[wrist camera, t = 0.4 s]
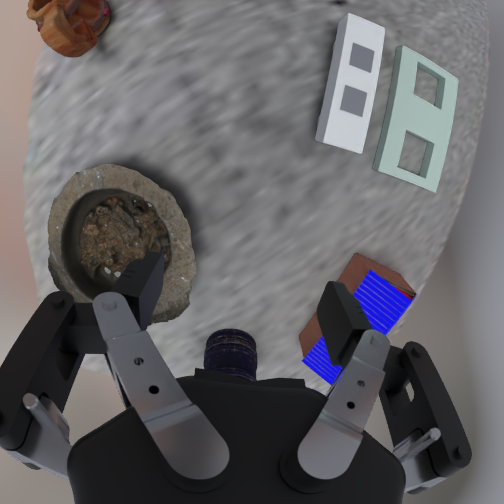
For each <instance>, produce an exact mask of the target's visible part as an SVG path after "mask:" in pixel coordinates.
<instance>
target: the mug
mask: <svg viewBox="0 0 504 504" xmlns="http://www.w3.org/2000/svg"><path fill="white" fill-rule="evenodd" d="M28 7H29V9H28V10H27V16H28V18H29V19H32V20H34V21H36V24H37V25H38V31H39V32H40V33H41V37H42V39H43V41H44V42H45V43H46V44H47V45H48V46H50V47H51V48H52V49H53V50H55V51H56V52H58V53H60V54H61V55H63V56H66V57H80V56H82V55H83V54H84V53H86V52H87V51H89V50H90V49H91V48H93V47H94V46H95V45H96V43H97V40H98V39H97V37H96V36H98V35H99V34H100V33H101V32H102V31H103V30H104V29H105V27H106V26H107V25H108V23H109V21H110V9H109V6H108V3H107V1H106V0H30V1H29V3H28Z"/></svg>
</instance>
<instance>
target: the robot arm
mask: <svg viewBox="0 0 504 504" xmlns="http://www.w3.org/2000/svg"><path fill="white" fill-rule="evenodd" d="M163 279H164V253H162V252H156V251H150V250H149V251H148V252H147V253H146V255H145V256H144V258H143V259H135V260H133V261H132V262H130V263H129V264H128V265H127V267H126V268H125V270H124V271H123V272H122V274H121V276H120V277H119V278H118V280H117V281H116V283H115V284H114V286H113V287H112V289H111V290H110V292H105V293H102V294H100V295H98V296H97V297H95V299H94V300H93V302H92V303H75V302H74V298H73V296H72V295H71V294H70V293H68V292H66V291H56V292H53V293H51V294H49V295H48V296H47V297H46V298H45V299H44V300H43V302H42V303H41V304H40V306H39V307H38V309H37V310H36V311H35V313H34V314H33V316H32V317H31V319H30V320H29V322H28V323H27V325H26V326H25V328H24V329H23V331H22V332H21V334H20V335H19V337H18V339H17V340H16V342H15V343H14V345H13V346H12V348H11V350H10V351H9V353H8V355H7V357H6V358H5V360H4V362H3V364H2V365H1V367H0V447H1V448H2V449H4V450H5V451H6V452H7V453H9V454H10V455H11V456H13V457H14V458H15V459H16V460H18V461H20V462H22V463H23V464H25V465H26V466H28V467H29V468H31V469H35V470H38V469H44V470H46V471H48V472H51V473H53V474H55V475H57V476H60V477H62V478H65V479H67V480H69V481H70V484H71V487H72V491H73V494H74V501H75V504H402V498H403V494H404V492H408V493H409V494H418V493H420V492H422V491H424V490H426V489H428V488H430V487H432V486H433V485H435V484H437V483H439V482H441V481H443V480H444V479H446V478H448V477H449V476H451V475H453V474H454V473H456V472H458V471H459V470H461V469H462V468H464V467H465V466H467V465H468V464H469V462H470V460H471V456H472V452H471V448H470V445H469V442H468V439H467V437H466V434H465V432H464V429H463V427H462V424H461V422H460V419H459V417H458V414H457V412H456V410H455V408H454V405H453V403H452V401H451V399H450V396H449V394H448V392H447V390H446V388H445V386H444V384H443V382H442V380H441V378H440V376H439V373H438V372H437V370H436V368H435V366H434V364H433V362H432V360H431V358H430V356H429V354H428V352H427V351H426V349H425V348H424V347H423V346H422V345H420V344H419V343H416V342H412V341H410V342H407V343H406V344H405V346H404V347H403V349H401V348H398V347H394V346H391V345H390V341H389V339H388V338H387V337H386V336H385V335H384V334H383V333H381V332H379V331H377V330H373V328H372V326H371V324H370V322H369V320H368V318H367V316H366V314H364V311H363V309H362V308H361V305H360V303H359V301H358V300H357V299H356V298H355V297H354V296H353V295H352V294H350V293H349V291H348V290H347V288H346V286H345V284H344V283H341V282H334V281H329V282H328V283H327V285H326V287H325V290H324V292H323V295H322V297H321V299H320V302H319V304H318V307H317V319H318V322H319V325H320V328H321V332H322V335H323V338H324V341H325V345H326V348H327V351H328V355H329V358H330V361H331V365H332V366H341V367H342V369H341V371H340V372H339V374H338V375H337V377H336V379H335V380H334V382H333V384H332V385H331V387H330V389H329V390H328V392H327V394H326V395H323V394H321V393H320V392H318V391H316V390H313V389H311V388H308V387H306V386H305V381H304V379H292V378H274V379H266V380H259V381H249V380H246V379H243V378H239V377H236V376H233V375H230V374H227V373H224V372H219V371H212V370H205V369H199V368H195V374H194V376H185V377H180V378H176V379H175V377H174V376H173V374H172V373H171V371H170V369H169V368H168V366H167V365H166V363H165V361H164V360H163V358H162V356H161V355H160V353H159V351H158V350H157V348H156V346H155V344H154V343H153V341H152V339H151V337H150V335H149V334H148V332H147V331H146V329H147V326H148V324H149V321H150V319H151V316H152V314H153V311H154V309H155V307H156V304H157V302H158V299H159V297H160V295H161V292H162V288H163ZM85 354H104V357H105V360H106V362H107V365H108V367H109V370H110V372H111V375H112V377H113V380H114V382H115V385H116V387H117V389H118V392H119V395H120V397H121V399H122V402H123V404H124V406H125V409H126V410H125V411H123V412H122V413H120V414H118V415H117V416H115V417H114V418H112V419H111V420H109V421H108V422H106V423H104V424H103V425H101V426H100V427H98V428H97V429H95V430H93V431H92V432H90V433H88V434H87V435H85V436H83V437H82V438H80V439H79V440H78V441H77V442H76V443H75V444H74V445H73V446H71V445H70V442H69V431H70V430H69V425H68V422H67V421H66V419H65V418H64V416H63V415H62V413H63V410H64V407H65V405H66V402H67V399H68V396H69V393H70V391H71V388H72V385H73V383H74V380H75V378H76V375H77V373H78V370H79V368H80V365H81V363H82V361H83V358H84V356H85ZM409 383H411V385H412V388H413V390H414V399H413V400H412V402H411V401H410V399H409V396H408V393H407V391H406V388H405V387H406V386H407V385H408V384H409ZM378 394H379V397H380V400H381V403H382V407H383V410H384V413H385V417H386V420H387V424H388V428H389V431H390V435H391V438H392V442H393V446H394V449H393V452H392V453H391V452H390V451H389V450H387V449H386V448H385V447H383V446H382V445H381V444H380V443H379V442H378V441H377V440H375V439H374V438H373V437H372V436H371V435H369V434H368V433H367V432H366V431H365V430H364V427H365V425H366V423H367V420H368V418H369V416H370V413H371V411H372V408H373V406H374V403H375V401H376V398H377V396H378Z"/></svg>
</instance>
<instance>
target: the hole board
mask: <svg viewBox="0 0 504 504" xmlns="http://www.w3.org/2000/svg"><path fill="white" fill-rule="evenodd" d="M417 67H419V68H421V69H422V70H424V71H426V72H428V73H429V74H431V75H433V76H434V77H436V78H437V79H438V87H437V94H436V101H435V106H434V105H432V104H430V103H429V102H427V101H425V100H423V99H421V98H420V97H418V96H416V95H414V94H413V92H414V85H415V79H416V71H417ZM457 88H458V79H457V78H455V77H454V76H453V75H451V74H450V73H448V72H447V71H445V70H444V69H442V68H441V67H439V66H438V65H436V64H435V63H433V62H432V61H430V60H428V59H427V58H425V57H423V56H422V55H420V54H418V53H416V52H415V51H413V50H411V49H409V48H408V47H406V46H404V45H401V46H399V47H396V55H395V62H394V69H393V75H392V81H391V87H390V93H389V98H388V103H387V108H386V113H385V118H384V123H383V127H382V132H381V136H380V140H379V144H378V148H377V152H376V156H375V160H374V164H373V168H372V169H375V170H377V171H380V172H383V173H386V174H389V175H391V176H394V177H397V178H400V179H402V180H405V181H408V182H410V183H413V184H415V185H418V186H420V187H423V188H425V189H428V190H430V191H433V192H435V193H436V190H437V186H438V183H439V179H440V176H441V172H442V168H443V164H444V160H445V156H446V152H447V148H448V143H449V138H450V133H451V128H452V123H453V117H454V111H455V104H456V97H457ZM406 132H407V133H409V134H412V135H414V136H416V137H418V138H420V139H422V140H424V141H426V142H427V147H426V151H425V155H424V159H423V163H422V167H421V170H420V174H419V176H418V175H416V174H413V173H411V172H408V171H406V170H403V169H401V168H398V167H397V166H398V162H399V158H400V154H401V150H402V146H403V142H404V138H405V133H406Z"/></svg>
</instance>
